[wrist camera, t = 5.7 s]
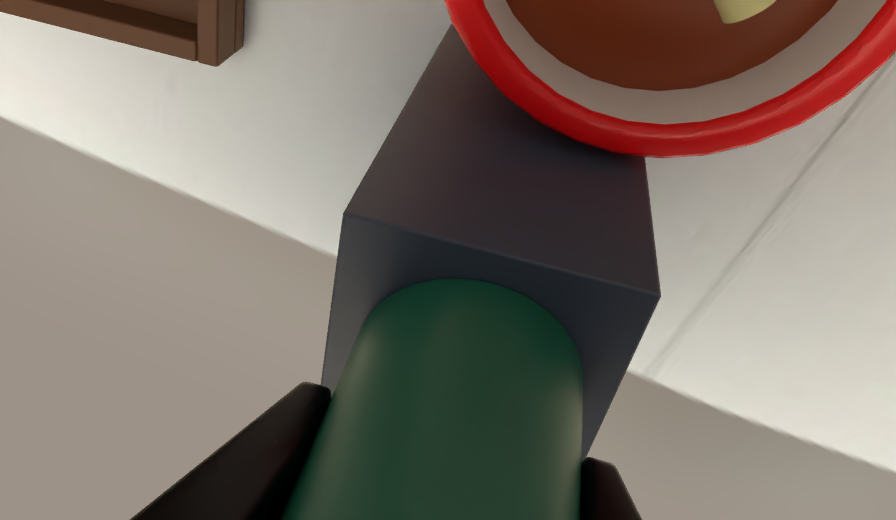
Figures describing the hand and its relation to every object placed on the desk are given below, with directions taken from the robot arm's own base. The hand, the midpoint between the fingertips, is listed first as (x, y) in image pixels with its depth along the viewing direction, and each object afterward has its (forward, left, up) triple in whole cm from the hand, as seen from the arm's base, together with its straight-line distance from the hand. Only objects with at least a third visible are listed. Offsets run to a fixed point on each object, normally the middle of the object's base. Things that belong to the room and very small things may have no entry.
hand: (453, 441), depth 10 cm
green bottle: (0, 0, -2) cm, 2 cm away
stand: (0, 0, -13) cm, 13 cm away
